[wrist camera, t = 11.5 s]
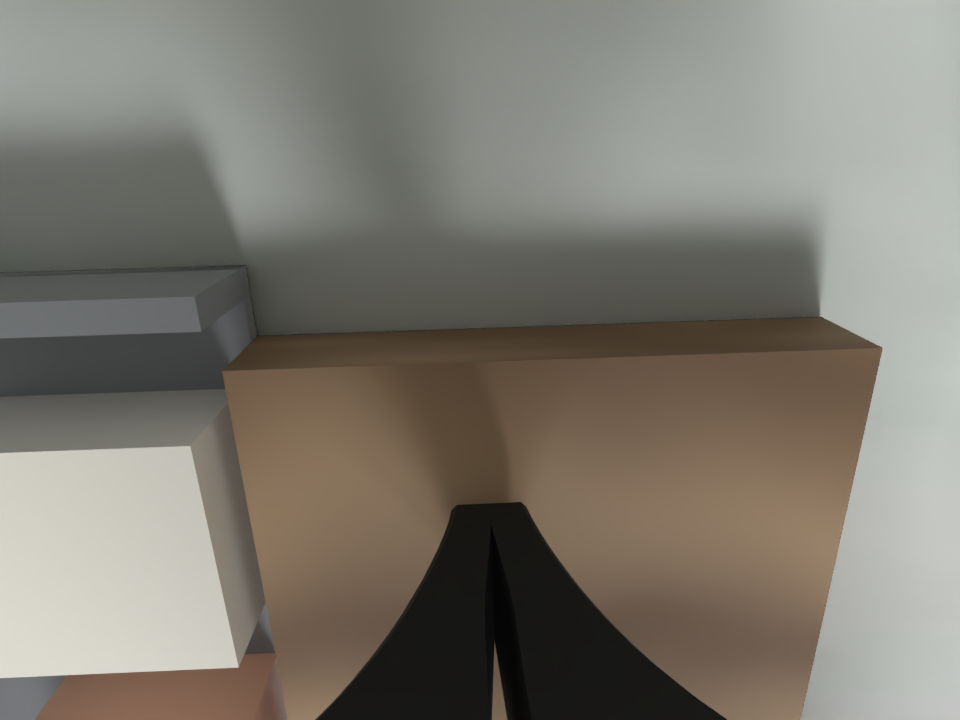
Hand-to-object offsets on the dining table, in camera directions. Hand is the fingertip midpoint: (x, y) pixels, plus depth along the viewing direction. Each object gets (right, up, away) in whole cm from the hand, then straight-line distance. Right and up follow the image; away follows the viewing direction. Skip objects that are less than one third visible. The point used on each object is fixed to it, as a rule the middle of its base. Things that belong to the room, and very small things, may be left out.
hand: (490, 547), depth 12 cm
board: (+1, -2, +4) cm, 5 cm away
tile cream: (-8, +1, +2) cm, 8 cm away
